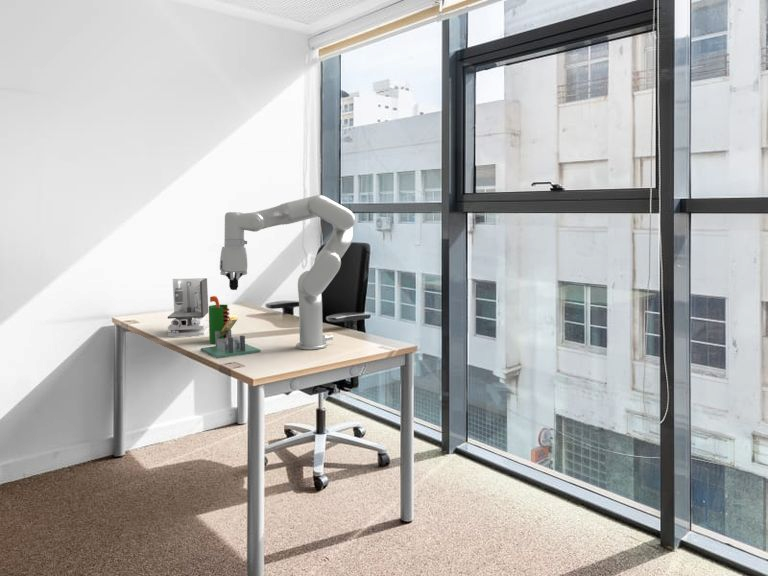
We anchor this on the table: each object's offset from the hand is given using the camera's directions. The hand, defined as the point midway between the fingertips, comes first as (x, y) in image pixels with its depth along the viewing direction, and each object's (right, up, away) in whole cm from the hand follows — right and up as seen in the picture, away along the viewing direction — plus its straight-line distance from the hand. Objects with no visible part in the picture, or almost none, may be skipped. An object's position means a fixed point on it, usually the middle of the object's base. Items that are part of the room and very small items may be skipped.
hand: (233, 289), depth 243 cm
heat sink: (-3, -24, +5) cm, 24 cm away
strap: (-3, -15, +3) cm, 16 cm away
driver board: (-2, -25, +3) cm, 25 cm away
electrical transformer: (-31, -21, +42) cm, 57 cm away
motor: (-11, -23, +22) cm, 34 cm away
